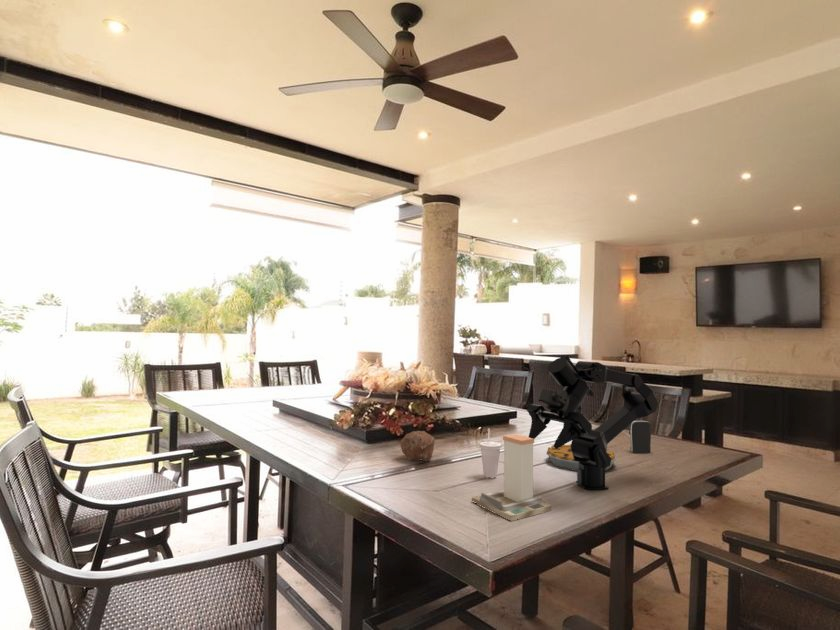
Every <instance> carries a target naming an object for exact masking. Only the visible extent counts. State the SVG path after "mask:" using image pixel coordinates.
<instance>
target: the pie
mask: <svg viewBox="0 0 840 630" xmlns="http://www.w3.org/2000/svg"><path fill="white" fill-rule="evenodd" d="M606 453H607V454H608V455H609V456H610V458H611V463H610V466H609V467H607V468H605V470H606V471H608V470H609V468H610V469H611V468H612V466H613V464H614V462H615V461H616V460H617V456H616V454H615V453H614V451H609V449H607V452H606ZM546 455H547V456H548V458H549V460H550V462H551V463H552V464H553V466H555V465H557V466H556V467H558V466H560V467H559V468H561V467H564V468H563V469H566V468H569V469H568V470H571V469H573V471H577V468H579V462H577V461H574V457H573V453H572V450H571V443H570V444H564V445H562V446H561V447H559V448H557V449H556V448H554V444H553V445H552V446H551V447H548V448H547V451H546ZM607 469H608V470H607Z"/></svg>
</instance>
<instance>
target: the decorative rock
mask: <svg viewBox="0 0 840 630" xmlns="http://www.w3.org/2000/svg"><path fill="white" fill-rule="evenodd" d="M435 440H436V439H435V438H434V437H433V436H432V434H430V433H428V432H426V431H424V430H416V431H415V430H413V431H411V432H408V433H406V434H405V435H404V437H403V438H401V440H400V449H401V452H402V454H403V455H405V456H406V458H407V459H408V460H409V461H413V460H418V459H422V460H421V461H426V460H428V461H430V460H432V459H433V458H432V457H433V453H434V451H435V450H434V449H435V447H434V446H435V442H436V441H435Z"/></svg>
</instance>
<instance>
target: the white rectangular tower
mask: <svg viewBox="0 0 840 630" xmlns="http://www.w3.org/2000/svg"><path fill="white" fill-rule="evenodd" d="M502 440H503V490H504V497H506V498H509V499H511V500H513V501H516V502H520V501H524V500H528V499H532V498H534V444H535V439H533V438H529V436H525V435H522V434H518V433H513V434H507V435H502Z"/></svg>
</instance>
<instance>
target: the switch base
mask: <svg viewBox="0 0 840 630" xmlns="http://www.w3.org/2000/svg"><path fill="white" fill-rule="evenodd" d="M472 501H474V502H476V503H477V504H479V505H481V506H483V507H485V508H486V509H485V508H484V509H485V510H487V509H489V510H491V511H493V512H495V513H497V514H498V515H497V514H496V515H497V516H499V515H500V516H499V517H501V516H502V517H501V518H503V517H504V519H505V518H506V520H507V519H508V521H509V520H510V521H509V522H514V521H518V520H522V519H524V518H528V517H531V516H535V515H539V514H543V513H547V512H551V511H552V504H549V503H546V502H544V501H543V500H542V497H540V496H537V497H533V498H532V499H528V500H524V501H520V502H516V501H513V500H511V499H509V498H506V497H504V489H502V490H499V491H495V492H490V493H484V492H481V493H480V495H476V496H472V497H471V502H472ZM477 504H476V505H477ZM479 505H478V506H479ZM481 506H480V507H481ZM483 507H482V508H483ZM489 510H488V511H489ZM491 511H490V512H491ZM493 512H492V513H493ZM495 513H494V514H495ZM517 519H518V520H517Z"/></svg>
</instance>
